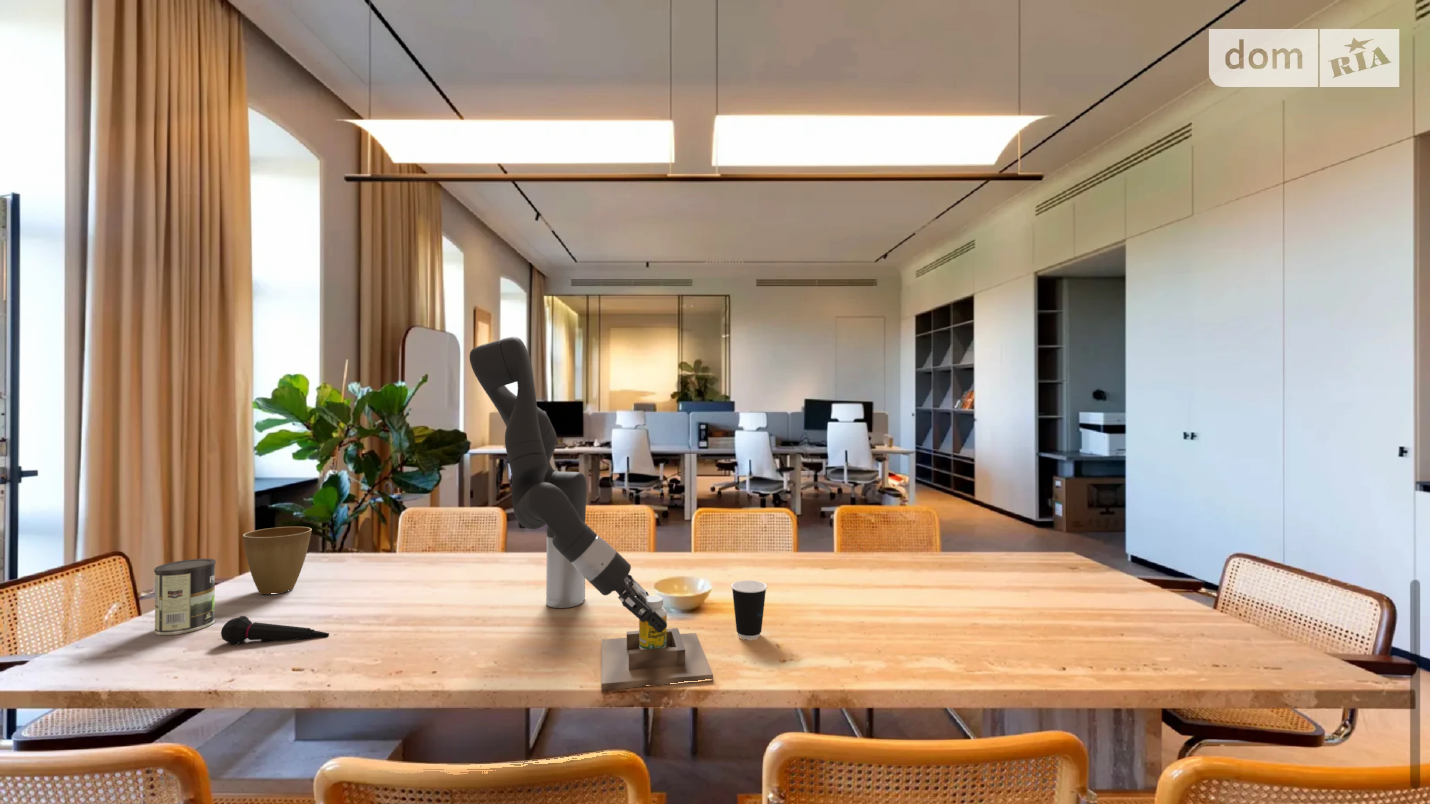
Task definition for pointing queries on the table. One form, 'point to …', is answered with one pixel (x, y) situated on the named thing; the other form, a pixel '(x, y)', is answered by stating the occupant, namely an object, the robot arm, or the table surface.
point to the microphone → (264, 631)
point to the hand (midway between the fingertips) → (662, 622)
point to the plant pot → (276, 557)
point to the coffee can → (184, 596)
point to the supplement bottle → (646, 632)
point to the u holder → (652, 661)
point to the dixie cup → (749, 607)
